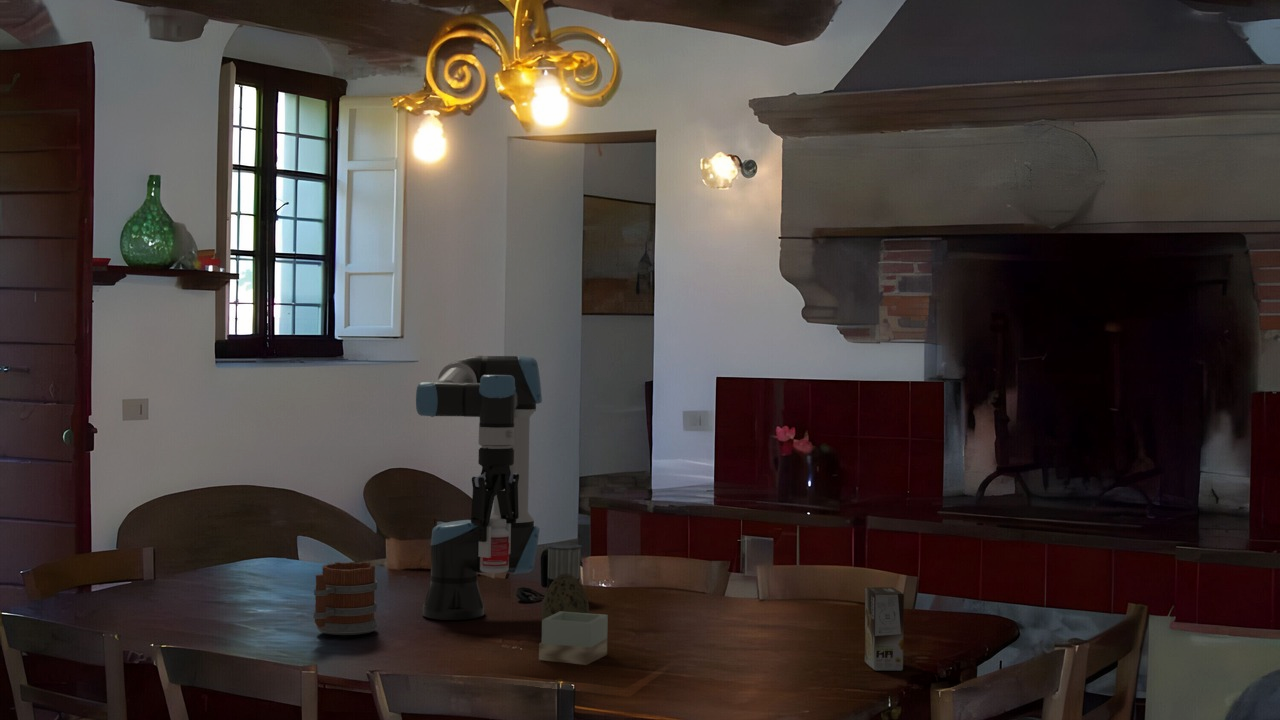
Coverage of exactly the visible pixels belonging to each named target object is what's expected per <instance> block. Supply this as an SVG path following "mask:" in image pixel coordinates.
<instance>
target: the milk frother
mask: <svg viewBox="0 0 1280 720" xmlns="http://www.w3.org/2000/svg"><path fill="white" fill-rule="evenodd" d="M546 547H547V548H544V550H543V551H542V552H541V555H540V585H541V587H542V588H546V591H547V590H548V588H549V586H550V584H551V583H552V582H553V581H554V580H555V579H556V578H557V577H558V576H559V575H561V574H571V575H573V576H574V577H575V578H576V579H577V580H578V581H579V582H580V577H581V552H582V551H581V548H582V547H583V546H582V545H580V544H578V543H577V544H576V543H565V542H564V543H563V542H560V543H559V542H558V543H550V544H547V546H546ZM515 596H516V597H517V599H519V600H520V601H523V603H529V604H535V603H539V602H541V601H542V598H544V596H545V594H544V595H543V594H542V593H540V592H538V590H537V591H536V590H534V589H532V588H530V587H524V586H522V587H518V588H517V589H516V591H515ZM533 596H534V597H536V598H532V597H533Z"/></svg>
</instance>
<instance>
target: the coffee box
mask: <svg viewBox="0 0 1280 720" xmlns="http://www.w3.org/2000/svg"><path fill="white" fill-rule="evenodd" d="M864 589H865V591H864V592H865V603H864V605H865V606H864V624H865V625H864V663H866V664H867V665H868V666H869V667H870V668H871V669H873V671H875V672H876V671H883V672H884V671H886V672H887V671H891V672H892V671H895V672H896V671H899V672H902V671H903V669H904V621H905V620H904V617H905V616H904V614H905V603H904V602H905V593H903V592H901V591H899V590H898V589H896V588H894V587H893V586H892V587H891V586H890V587H888V586H884V587H882V586H879V587H878V586H876V587H865V588H864Z"/></svg>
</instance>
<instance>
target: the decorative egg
mask: <svg viewBox="0 0 1280 720" xmlns="http://www.w3.org/2000/svg"><path fill="white" fill-rule="evenodd" d="M560 611H563V612H577V613H590V605H589V600H588V596H587V593H586V591H585V589H584V587H583V585H582V583H581V582H580V581H578V580H577V579H576V578H575V577H574V576H573V575H571V574H561V575H559V576H558V577H557V578H556V579H555V580H554V581H553V582H552V583H551V584H550V586H549V588H548V590H547V589H546V592H545V594H544V597H543V601H542V604H541V618H542V619H541V621H542V620H543V619H545V618H547V617H549V616H551V615H553V614H555V613H558V612H560Z"/></svg>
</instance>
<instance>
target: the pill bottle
mask: <svg viewBox="0 0 1280 720" xmlns="http://www.w3.org/2000/svg"><path fill="white" fill-rule="evenodd" d="M488 526H490V527H491V557H490V558H486V557H480V570H481V571H482V572H486V573H485V574H503V573H502V572H507V571H508V570H509V532H508V531H507V530H506V529H505V526H506V519H490V520H489V525H488Z"/></svg>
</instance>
